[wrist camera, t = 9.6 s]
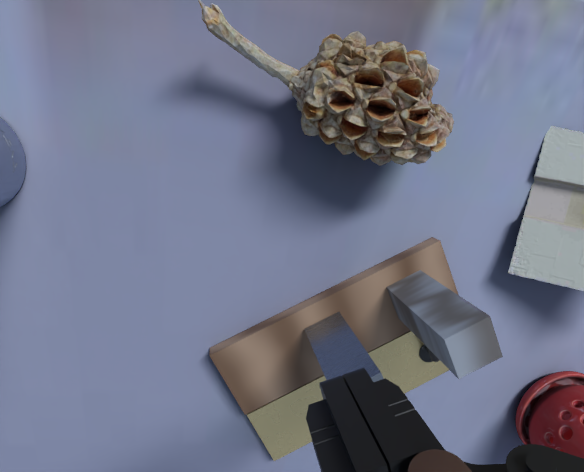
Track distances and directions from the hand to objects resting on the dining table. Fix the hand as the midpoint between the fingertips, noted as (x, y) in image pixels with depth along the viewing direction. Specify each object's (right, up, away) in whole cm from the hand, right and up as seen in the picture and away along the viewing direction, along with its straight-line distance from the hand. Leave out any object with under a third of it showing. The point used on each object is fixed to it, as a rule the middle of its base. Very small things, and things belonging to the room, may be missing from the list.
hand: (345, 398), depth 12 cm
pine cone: (0, +18, +24) cm, 30 cm away
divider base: (+4, -6, +31) cm, 31 cm away
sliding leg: (+3, -8, +29) cm, 30 cm away
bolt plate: (+6, -11, +32) cm, 35 cm away
